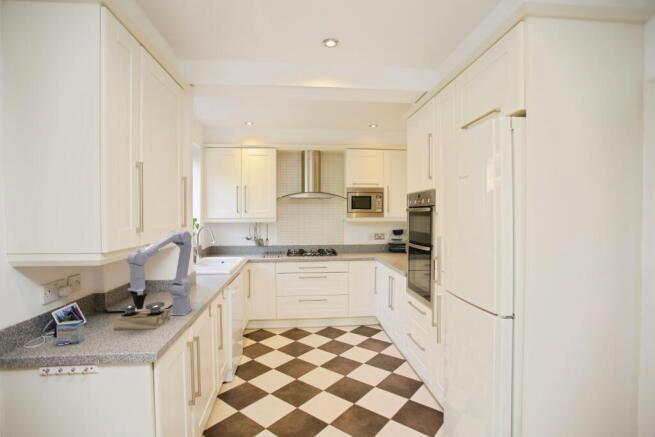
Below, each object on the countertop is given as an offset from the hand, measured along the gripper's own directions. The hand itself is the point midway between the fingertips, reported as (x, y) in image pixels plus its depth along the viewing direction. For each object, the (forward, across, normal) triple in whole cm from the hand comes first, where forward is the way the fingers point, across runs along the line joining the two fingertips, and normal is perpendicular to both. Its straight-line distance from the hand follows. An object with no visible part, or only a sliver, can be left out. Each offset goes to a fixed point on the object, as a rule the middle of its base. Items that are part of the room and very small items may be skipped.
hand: (138, 307), depth 141 cm
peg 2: (+5, -2, +7) cm, 9 cm away
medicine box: (+10, -2, -24) cm, 27 cm away
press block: (+10, -6, +2) cm, 12 cm away
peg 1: (+5, -9, -2) cm, 11 cm away
